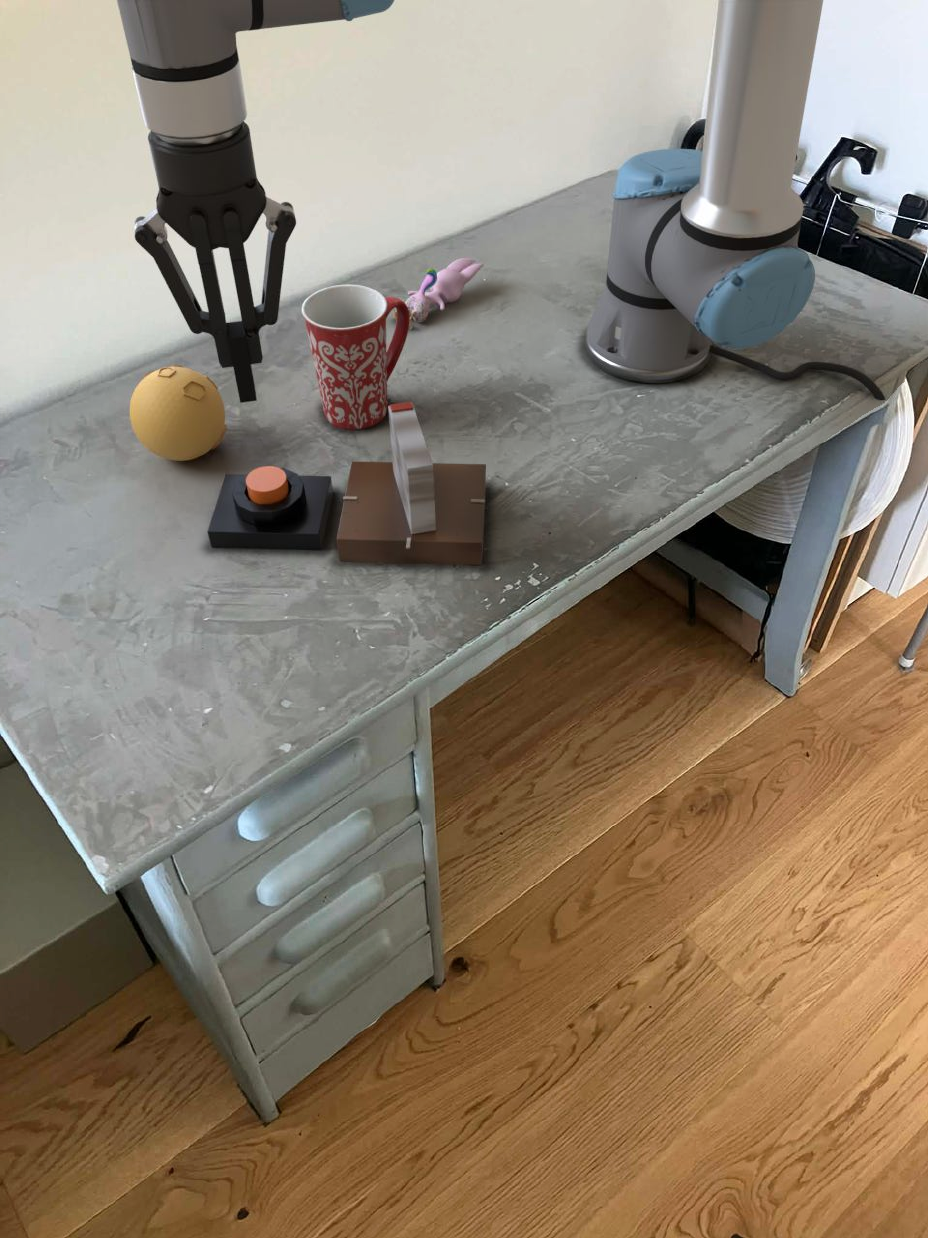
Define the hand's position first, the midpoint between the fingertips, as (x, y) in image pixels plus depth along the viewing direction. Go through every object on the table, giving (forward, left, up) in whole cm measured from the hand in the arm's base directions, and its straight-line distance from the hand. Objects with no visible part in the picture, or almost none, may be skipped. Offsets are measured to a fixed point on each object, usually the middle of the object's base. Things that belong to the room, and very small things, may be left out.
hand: (247, 393), depth 93 cm
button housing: (0, 0, -15) cm, 15 cm away
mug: (-8, -20, -16) cm, 26 cm away
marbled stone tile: (-15, 0, -12) cm, 19 cm away
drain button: (0, 0, -12) cm, 12 cm away
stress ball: (+11, -11, -16) cm, 22 cm away
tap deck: (-15, 0, -15) cm, 21 cm away
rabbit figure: (-15, -43, -16) cm, 48 cm away
